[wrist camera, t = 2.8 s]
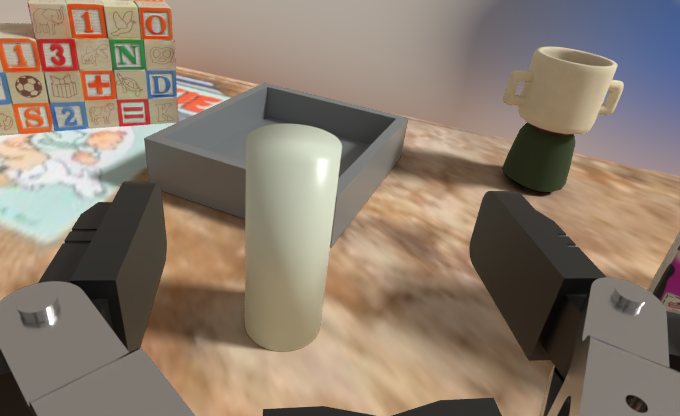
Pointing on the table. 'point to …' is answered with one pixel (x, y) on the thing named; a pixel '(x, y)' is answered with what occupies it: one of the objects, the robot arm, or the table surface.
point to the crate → (261, 110)
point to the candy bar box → (668, 279)
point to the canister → (288, 231)
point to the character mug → (556, 112)
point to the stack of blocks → (88, 66)
